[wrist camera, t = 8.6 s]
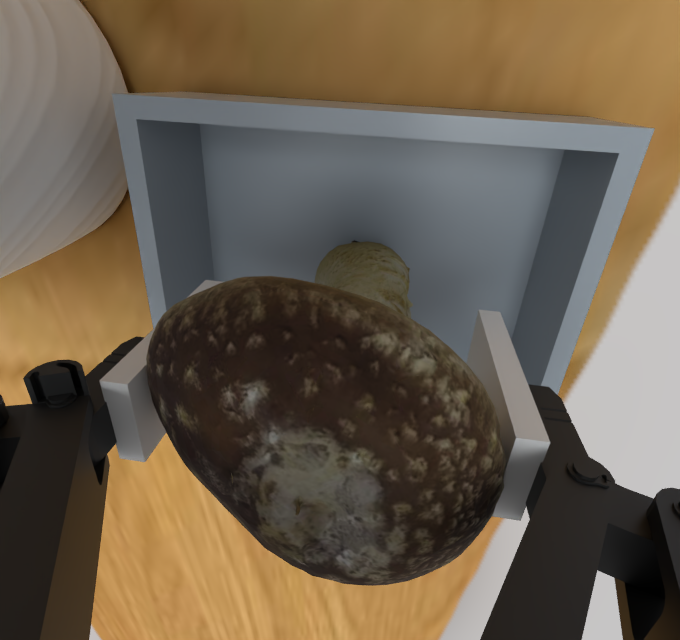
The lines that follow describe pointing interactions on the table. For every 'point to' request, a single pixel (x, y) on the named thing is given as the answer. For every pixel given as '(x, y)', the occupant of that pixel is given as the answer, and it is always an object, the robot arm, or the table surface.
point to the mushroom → (330, 418)
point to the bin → (385, 204)
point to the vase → (55, 129)
